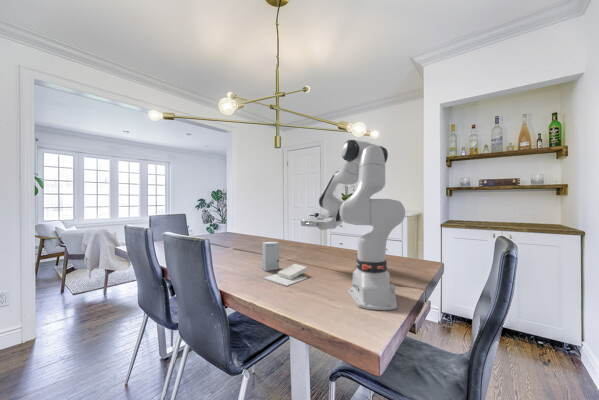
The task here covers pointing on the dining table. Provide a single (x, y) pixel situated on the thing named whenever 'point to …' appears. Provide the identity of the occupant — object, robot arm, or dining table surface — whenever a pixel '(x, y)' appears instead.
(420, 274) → the dining table surface
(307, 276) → the rail
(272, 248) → the skincare box
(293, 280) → the mat
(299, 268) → the tile
